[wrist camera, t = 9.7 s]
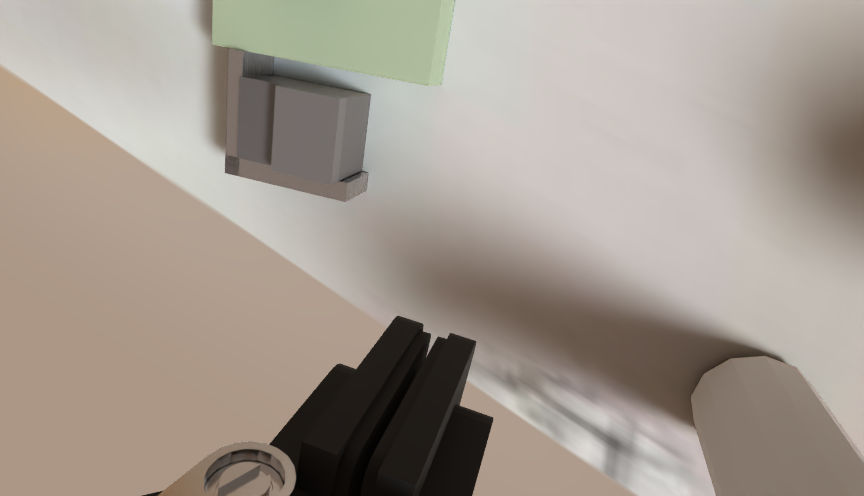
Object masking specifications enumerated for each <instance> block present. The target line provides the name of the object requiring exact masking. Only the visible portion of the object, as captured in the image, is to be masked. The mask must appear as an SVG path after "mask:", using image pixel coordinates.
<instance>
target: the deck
mask: <svg viewBox="0 0 864 496" xmlns="http://www.w3.org/2000/svg"><path fill="white" fill-rule="evenodd" d="M454 3H455V0H213V8H212V45H216V46H222V47H227V48H232V49H237V50H243V51H248V52H253V53H258V54H264V55H269V56H274V57H279V58H284V59H290V60H295V61H300V62H305V63H311V64H316V65H321V66H326V67H332V68H337V69H342V70H347V71H352V72H358V73H363V74H368V75H373V76H379V77H384V78H389V79H394V80H400V81H405V82H410V83H415V84H421V85H426V86H433V85H441V84H442V78H443V71H444V65H445V59H446V53H447V47H448V41H449V34H450V28H451V22H452V16H453V10H454Z"/></svg>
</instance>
